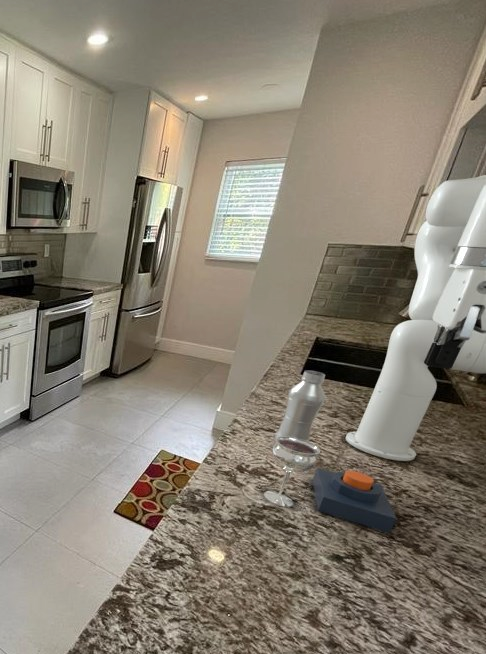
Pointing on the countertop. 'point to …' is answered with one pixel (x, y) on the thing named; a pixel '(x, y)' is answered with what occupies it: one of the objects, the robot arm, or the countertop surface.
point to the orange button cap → (358, 480)
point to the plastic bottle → (302, 406)
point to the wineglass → (291, 463)
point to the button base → (352, 501)
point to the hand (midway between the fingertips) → (436, 366)
